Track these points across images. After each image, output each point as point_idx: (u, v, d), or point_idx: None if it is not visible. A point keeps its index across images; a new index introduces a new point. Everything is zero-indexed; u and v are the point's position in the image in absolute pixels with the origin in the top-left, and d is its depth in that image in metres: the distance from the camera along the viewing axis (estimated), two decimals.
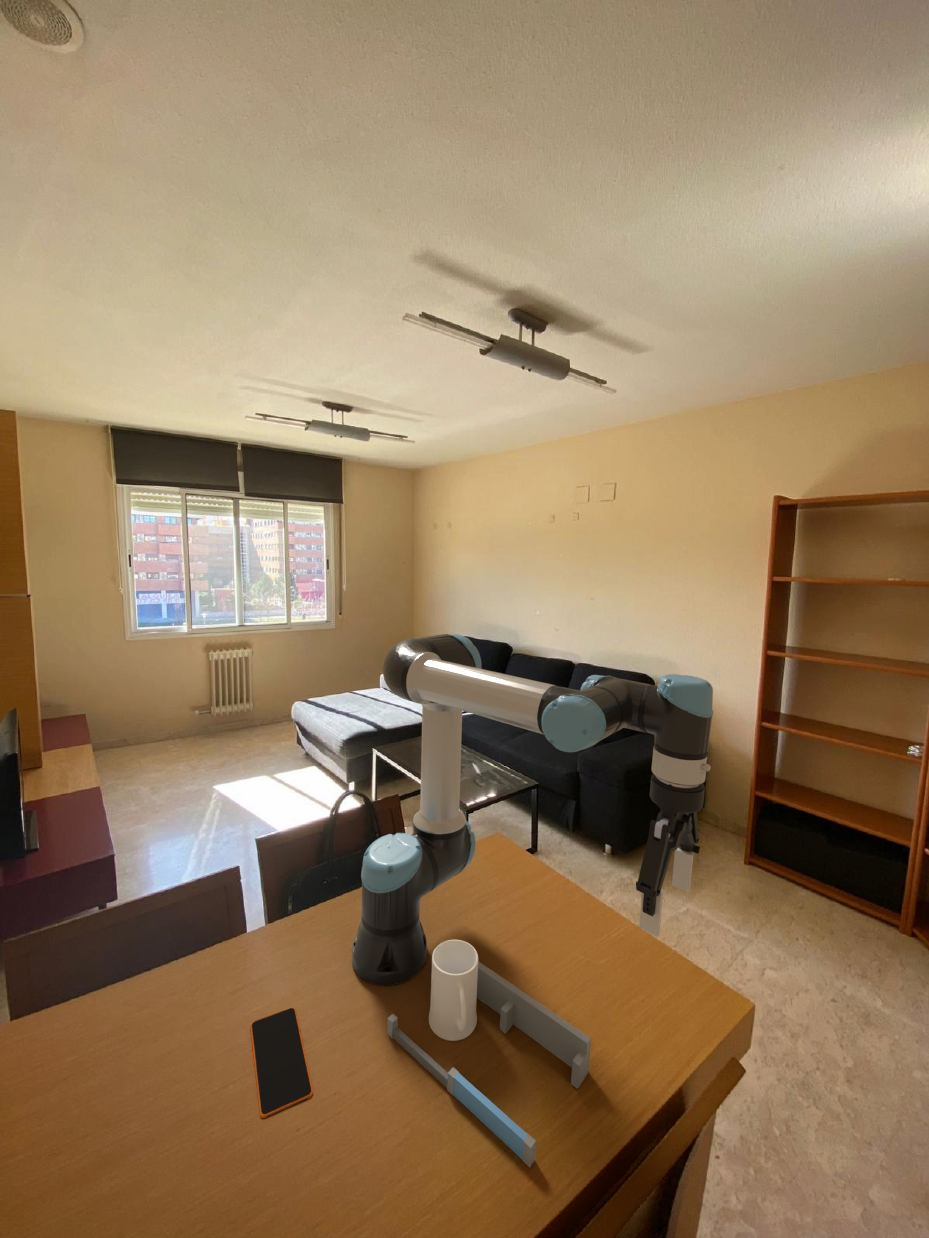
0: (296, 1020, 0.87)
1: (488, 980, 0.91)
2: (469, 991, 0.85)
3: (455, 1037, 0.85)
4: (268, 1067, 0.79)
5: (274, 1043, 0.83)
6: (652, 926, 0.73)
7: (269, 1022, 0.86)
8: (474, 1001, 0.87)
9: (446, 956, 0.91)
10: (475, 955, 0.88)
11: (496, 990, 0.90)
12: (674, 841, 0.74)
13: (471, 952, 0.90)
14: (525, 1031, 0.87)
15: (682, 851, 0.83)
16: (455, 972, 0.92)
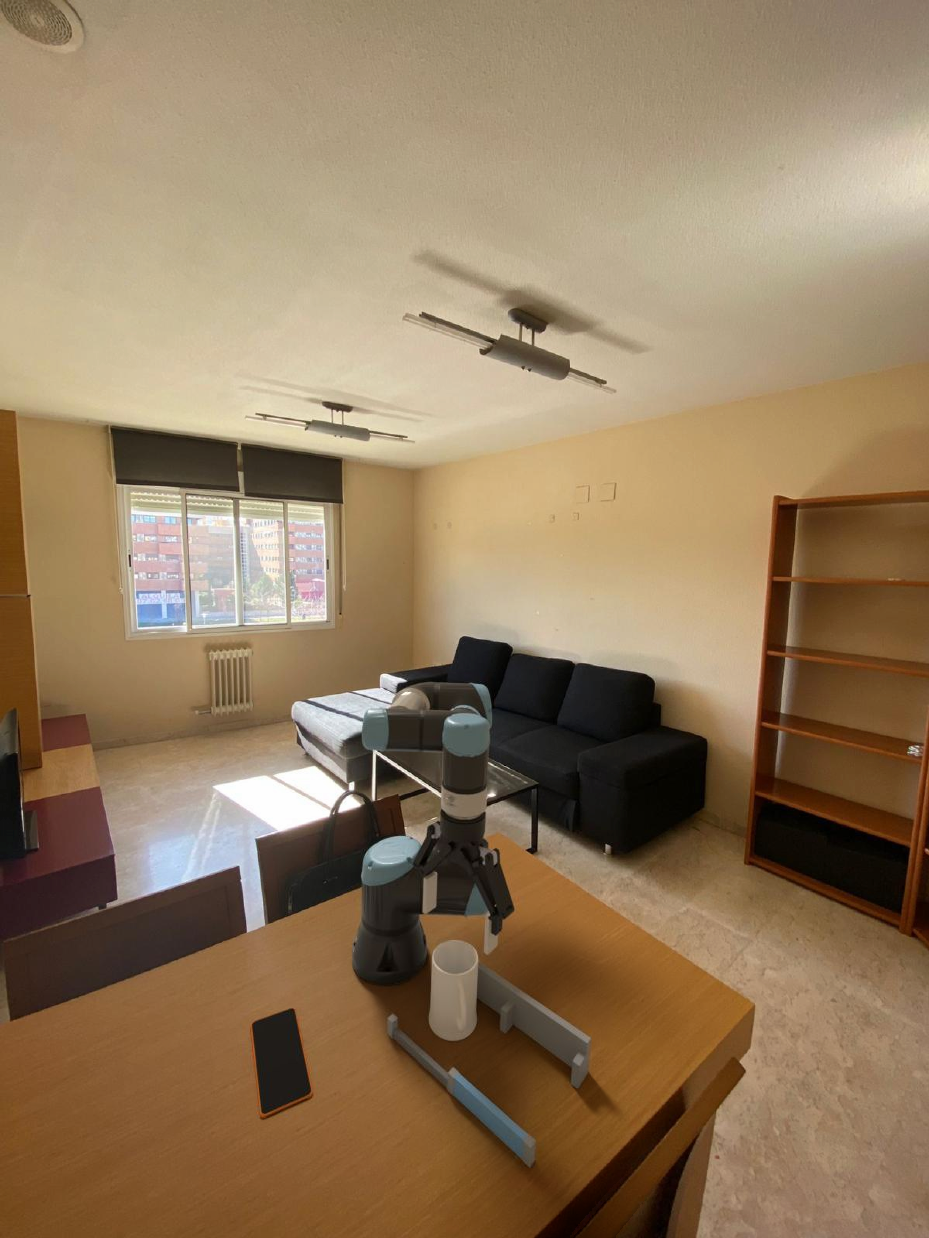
0: (296, 1020, 0.87)
1: (488, 980, 0.91)
2: (469, 991, 0.85)
3: (455, 1037, 0.85)
4: (268, 1067, 0.79)
5: (275, 1043, 0.83)
6: None
7: (269, 1022, 0.86)
8: (474, 1001, 0.87)
9: (446, 956, 0.91)
10: (475, 955, 0.88)
11: (496, 990, 0.90)
12: (440, 850, 0.85)
13: (471, 952, 0.90)
14: (525, 1031, 0.87)
15: None
16: (455, 972, 0.92)
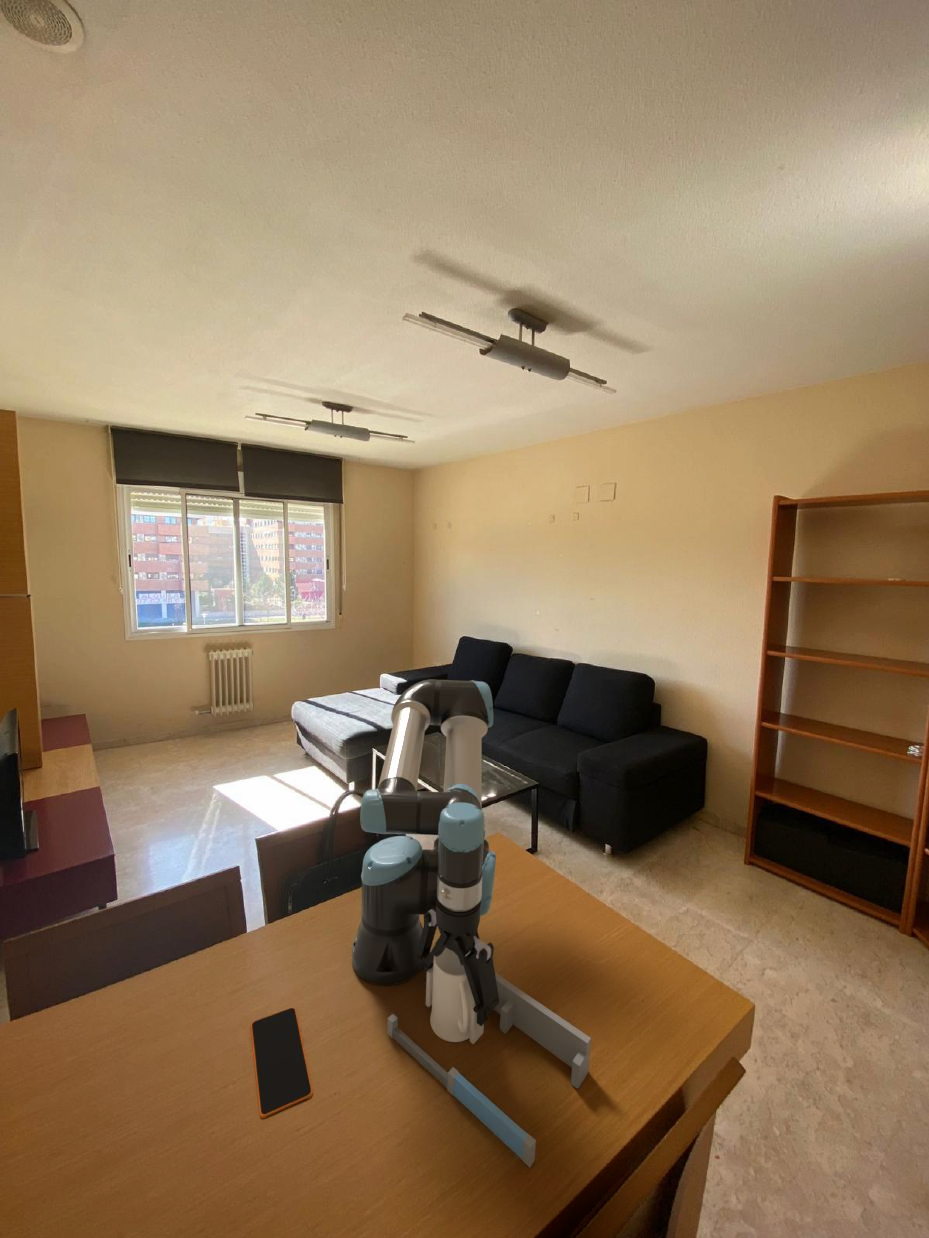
0: (296, 1020, 0.87)
1: None
2: (471, 992, 0.85)
3: (457, 1038, 0.84)
4: (268, 1067, 0.79)
5: (275, 1043, 0.83)
6: None
7: (270, 1022, 0.86)
8: None
9: (448, 957, 0.91)
10: None
11: None
12: (437, 940, 0.87)
13: None
14: (525, 1031, 0.87)
15: None
16: (457, 973, 0.92)
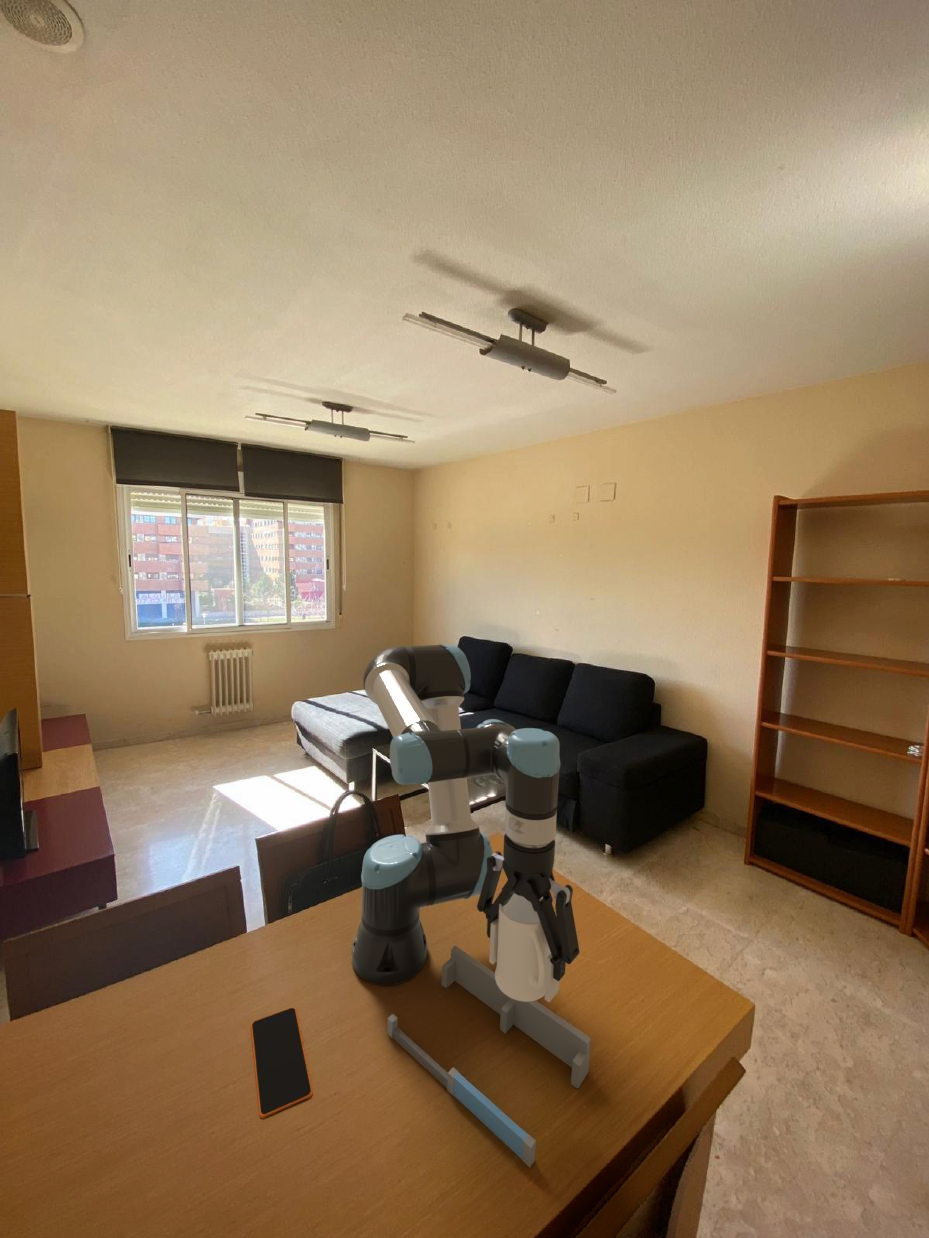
0: (296, 1020, 0.87)
1: (488, 980, 0.91)
2: (544, 944, 0.74)
3: (529, 997, 0.74)
4: (268, 1067, 0.79)
5: (275, 1043, 0.83)
6: None
7: (270, 1021, 0.86)
8: None
9: (513, 908, 0.80)
10: None
11: (496, 990, 0.90)
12: None
13: None
14: (525, 1031, 0.87)
15: None
16: None
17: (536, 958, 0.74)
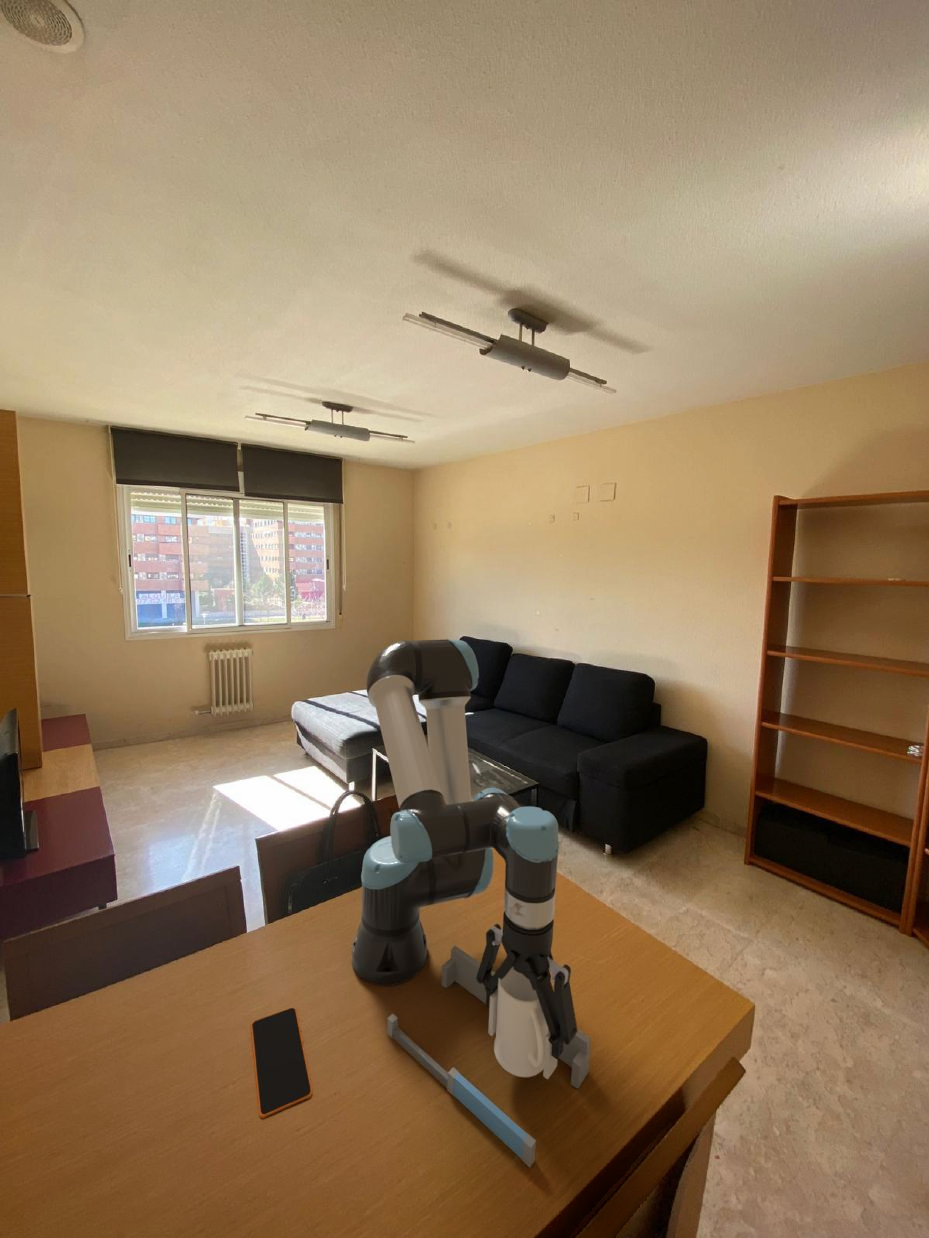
0: (296, 1020, 0.87)
1: None
2: (543, 1020, 0.75)
3: (527, 1073, 0.75)
4: (268, 1067, 0.79)
5: (275, 1043, 0.83)
6: None
7: (270, 1021, 0.86)
8: (547, 1031, 0.77)
9: (511, 979, 0.82)
10: None
11: None
12: (503, 961, 0.77)
13: None
14: None
15: None
16: (521, 997, 0.82)
17: (535, 1035, 0.75)
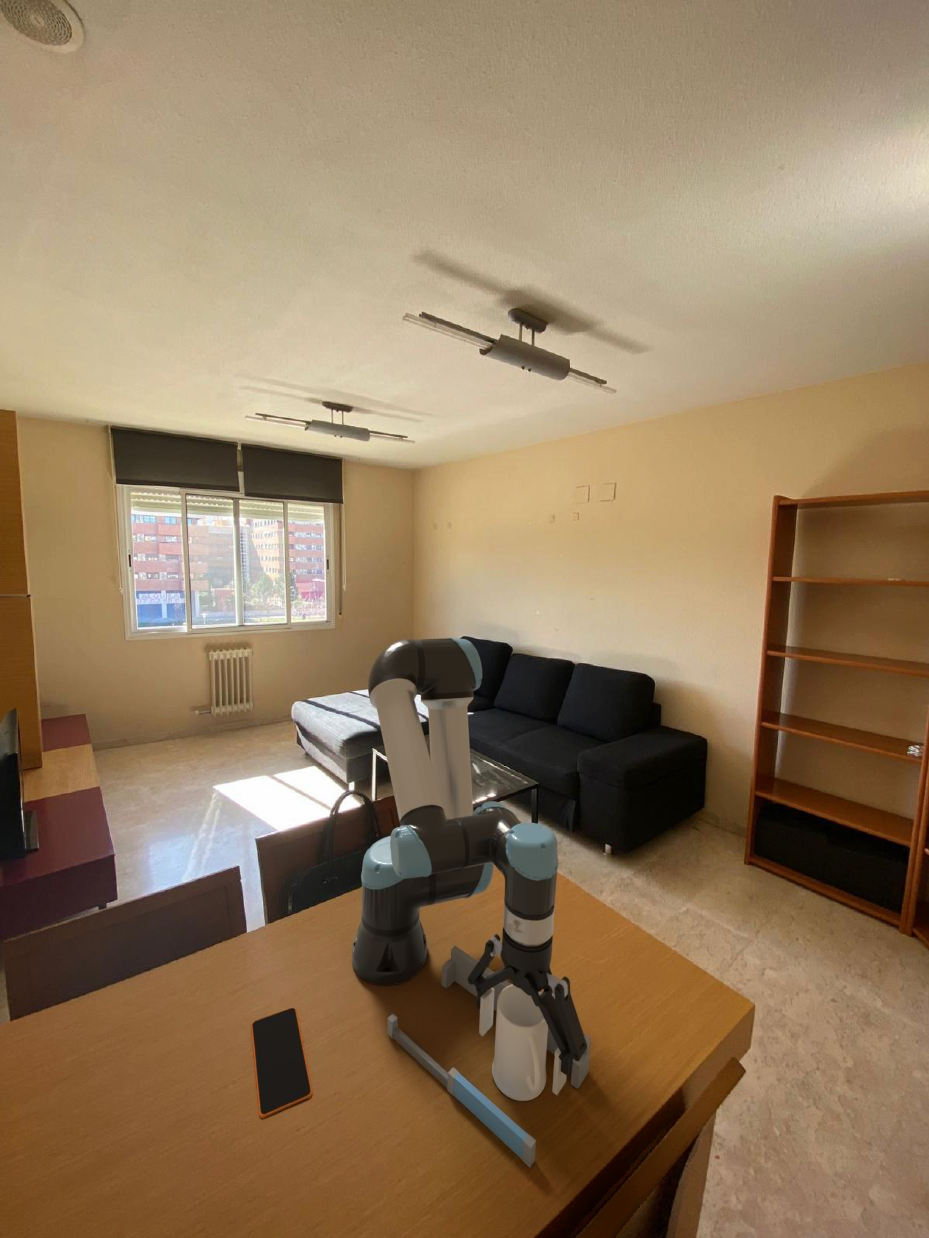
0: (296, 1020, 0.87)
1: None
2: (540, 1045, 0.76)
3: (525, 1097, 0.76)
4: (268, 1067, 0.79)
5: (275, 1043, 0.83)
6: None
7: (270, 1021, 0.86)
8: (545, 1056, 0.77)
9: (510, 1002, 0.82)
10: None
11: (496, 990, 0.90)
12: (500, 972, 0.78)
13: None
14: None
15: None
16: (520, 1019, 0.83)
17: (532, 1059, 0.75)
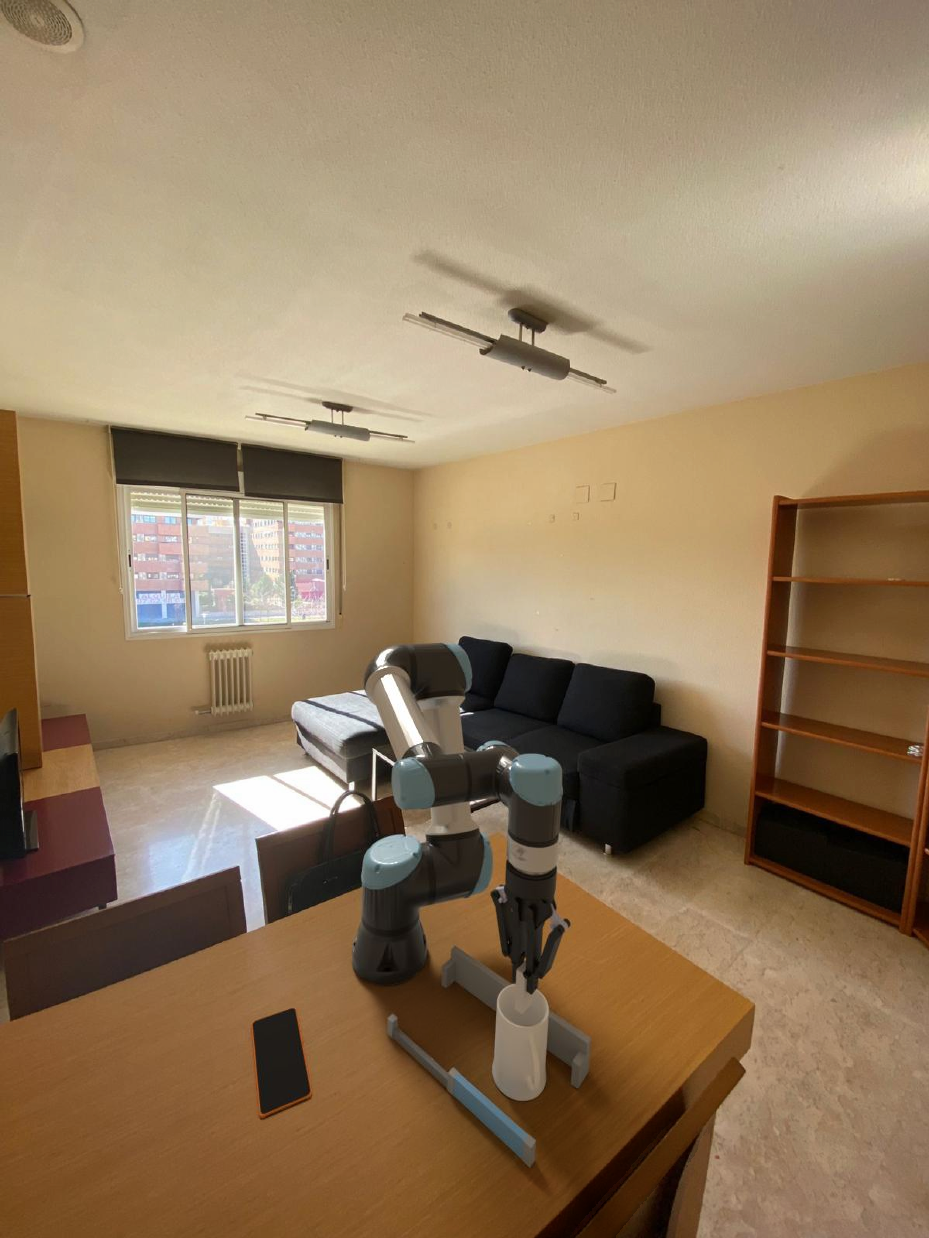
0: (297, 1020, 0.87)
1: (488, 980, 0.91)
2: (540, 1045, 0.76)
3: (524, 1097, 0.76)
4: (268, 1067, 0.79)
5: (275, 1043, 0.83)
6: None
7: (270, 1021, 0.87)
8: (544, 1056, 0.77)
9: (510, 1002, 0.82)
10: (544, 1003, 0.79)
11: (496, 990, 0.90)
12: None
13: (539, 999, 0.81)
14: None
15: None
16: (520, 1019, 0.83)
17: (532, 1059, 0.75)
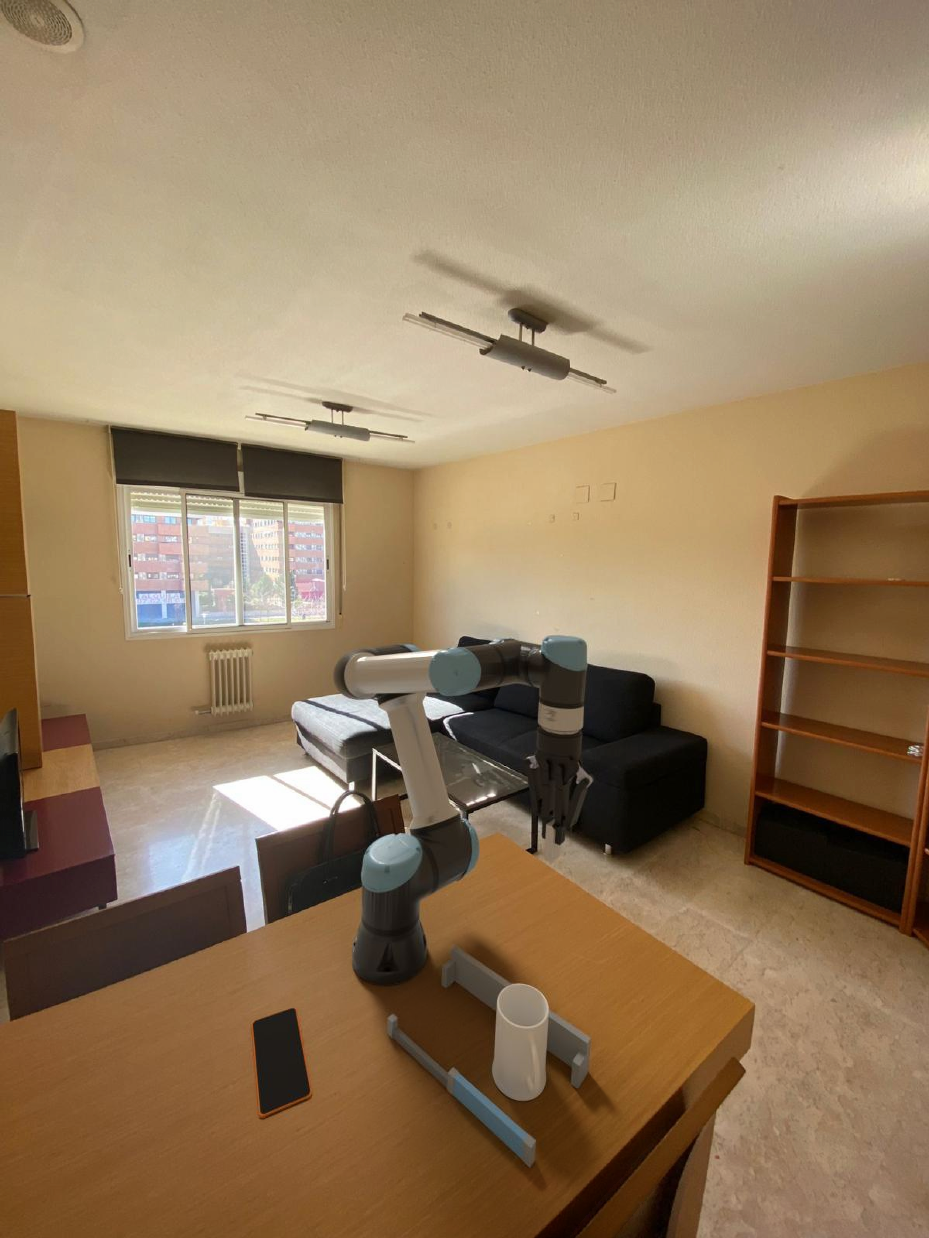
0: (297, 1020, 0.87)
1: (488, 980, 0.91)
2: (540, 1045, 0.76)
3: (524, 1097, 0.76)
4: (268, 1067, 0.79)
5: (275, 1043, 0.83)
6: None
7: (270, 1021, 0.87)
8: (545, 1056, 0.77)
9: (510, 1002, 0.82)
10: (544, 1003, 0.79)
11: (496, 990, 0.90)
12: None
13: (539, 999, 0.81)
14: None
15: None
16: (520, 1019, 0.83)
17: (532, 1059, 0.75)
